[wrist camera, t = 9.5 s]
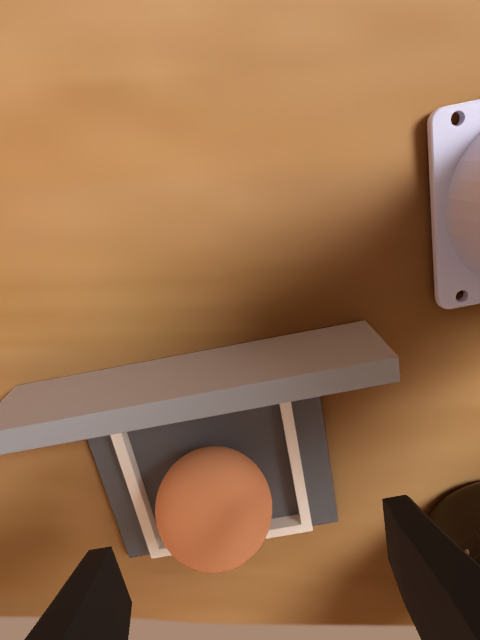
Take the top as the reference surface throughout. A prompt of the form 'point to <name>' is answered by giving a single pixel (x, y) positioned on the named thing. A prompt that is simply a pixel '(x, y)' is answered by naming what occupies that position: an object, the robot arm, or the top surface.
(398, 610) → the top surface
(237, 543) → the coral ball
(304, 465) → the mat
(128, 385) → the grey wall
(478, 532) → the supplement bottle
